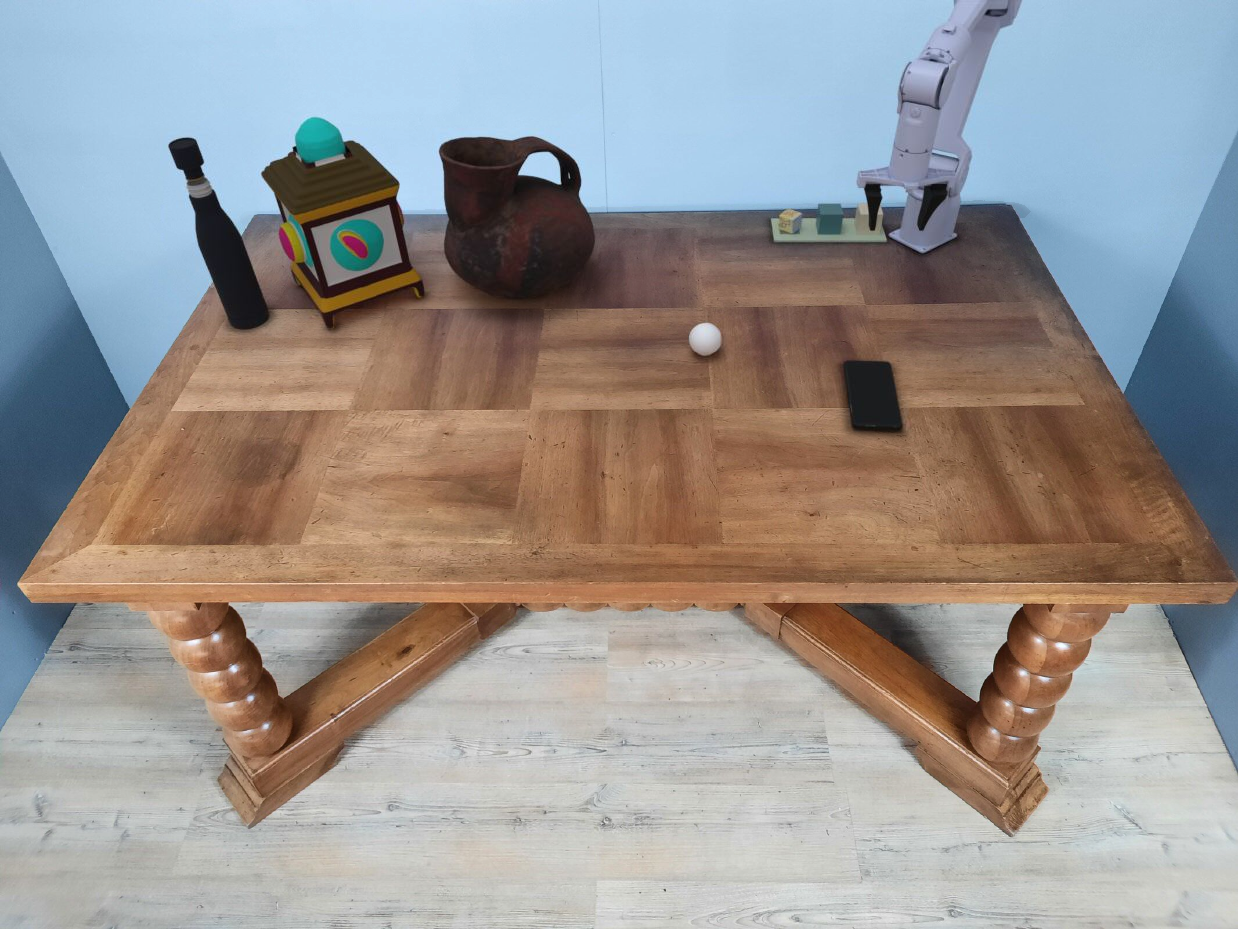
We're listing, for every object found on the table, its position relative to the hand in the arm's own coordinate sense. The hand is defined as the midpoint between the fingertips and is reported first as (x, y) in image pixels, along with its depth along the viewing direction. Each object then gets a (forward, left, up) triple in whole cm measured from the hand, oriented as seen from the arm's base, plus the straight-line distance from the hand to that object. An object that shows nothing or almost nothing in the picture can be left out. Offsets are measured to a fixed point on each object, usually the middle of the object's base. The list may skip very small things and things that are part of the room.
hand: (895, 227), depth 141 cm
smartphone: (+24, +19, -10) cm, 32 cm away
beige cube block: (-11, -14, -10) cm, 20 cm away
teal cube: (-5, -18, -10) cm, 21 cm away
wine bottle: (+89, -58, -11) cm, 107 cm away
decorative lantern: (+71, -54, -11) cm, 90 cm away
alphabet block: (0, -23, -10) cm, 25 cm away
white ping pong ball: (+36, -4, -11) cm, 38 cm away
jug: (+47, -39, -11) cm, 62 cm away
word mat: (-5, -18, -10) cm, 22 cm away
